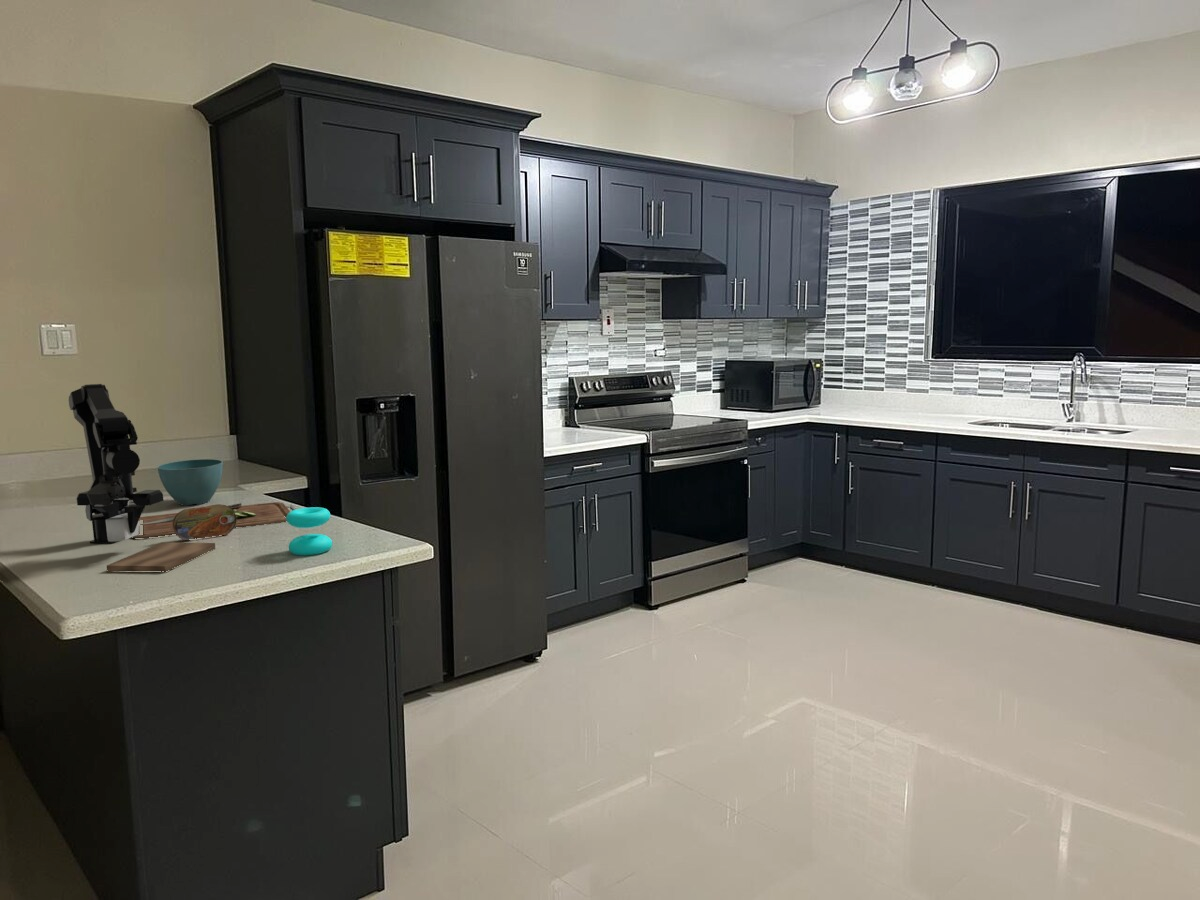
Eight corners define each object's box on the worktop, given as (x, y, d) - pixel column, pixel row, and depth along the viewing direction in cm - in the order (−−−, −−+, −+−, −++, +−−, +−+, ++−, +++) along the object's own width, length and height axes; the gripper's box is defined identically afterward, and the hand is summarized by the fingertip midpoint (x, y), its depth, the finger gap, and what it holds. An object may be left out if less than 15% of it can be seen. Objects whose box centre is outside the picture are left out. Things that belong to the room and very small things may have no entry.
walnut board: (107, 571, 192) (106, 565, 192) (161, 548, 211) (161, 542, 211) (165, 572, 190) (165, 566, 190) (215, 548, 210) (214, 542, 210)
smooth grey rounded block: (103, 541, 202) (101, 520, 202) (128, 532, 211) (126, 512, 210) (119, 541, 202) (117, 521, 201) (143, 532, 211) (141, 512, 210)
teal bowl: (225, 505, 261) (221, 465, 259) (158, 511, 255) (154, 470, 253) (226, 494, 278) (223, 457, 276) (164, 500, 271) (160, 461, 269)
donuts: (330, 504, 211) (329, 513, 201) (333, 544, 212) (332, 554, 203) (287, 508, 208) (284, 516, 198) (290, 548, 209) (287, 558, 200)
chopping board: (121, 544, 219) (119, 532, 218) (123, 523, 242) (122, 512, 242) (304, 521, 239) (303, 511, 239) (290, 504, 263) (289, 494, 262)
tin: (175, 543, 216) (172, 511, 215) (173, 541, 219) (169, 509, 217) (238, 534, 225) (235, 502, 224) (235, 531, 227) (232, 500, 226)
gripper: (56, 474, 197) (63, 540, 199) (131, 474, 195) (138, 541, 197) (89, 466, 208) (96, 529, 210) (161, 466, 206) (167, 529, 208)
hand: (123, 532), depth 206 cm, fingers closed on smooth grey rounded block, 4 cm apart
